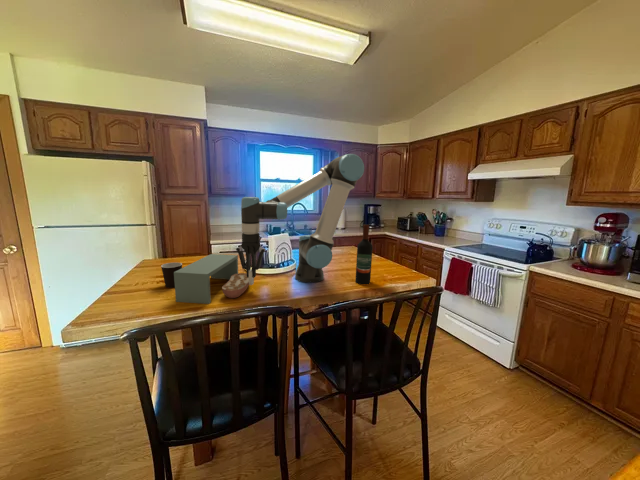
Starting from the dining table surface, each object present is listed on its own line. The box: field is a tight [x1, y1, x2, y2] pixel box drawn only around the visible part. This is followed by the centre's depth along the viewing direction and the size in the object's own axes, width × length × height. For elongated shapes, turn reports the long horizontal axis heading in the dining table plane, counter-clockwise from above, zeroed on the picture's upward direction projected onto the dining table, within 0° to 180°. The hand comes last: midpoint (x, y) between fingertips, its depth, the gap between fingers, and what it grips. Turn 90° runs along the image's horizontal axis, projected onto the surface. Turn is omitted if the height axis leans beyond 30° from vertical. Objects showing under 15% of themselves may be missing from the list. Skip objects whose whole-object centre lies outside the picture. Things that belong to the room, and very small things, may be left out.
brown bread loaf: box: [221, 272, 250, 299], centre depth 123 cm, size 23×10×5 cm, turn 3°
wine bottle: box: [354, 223, 374, 285], centre depth 137 cm, size 8×8×30 cm
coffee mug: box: [160, 262, 183, 289], centre depth 128 cm, size 12×9×10 cm
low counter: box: [174, 253, 239, 305], centre depth 124 cm, size 14×31×12 cm, turn 175°
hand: (251, 283), depth 122 cm, fingers closed
